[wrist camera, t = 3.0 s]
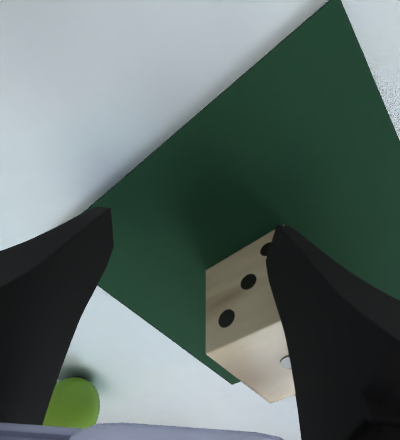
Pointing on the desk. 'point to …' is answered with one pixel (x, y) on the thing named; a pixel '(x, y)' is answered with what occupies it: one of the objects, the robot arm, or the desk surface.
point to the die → (248, 323)
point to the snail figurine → (73, 404)
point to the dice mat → (262, 181)
